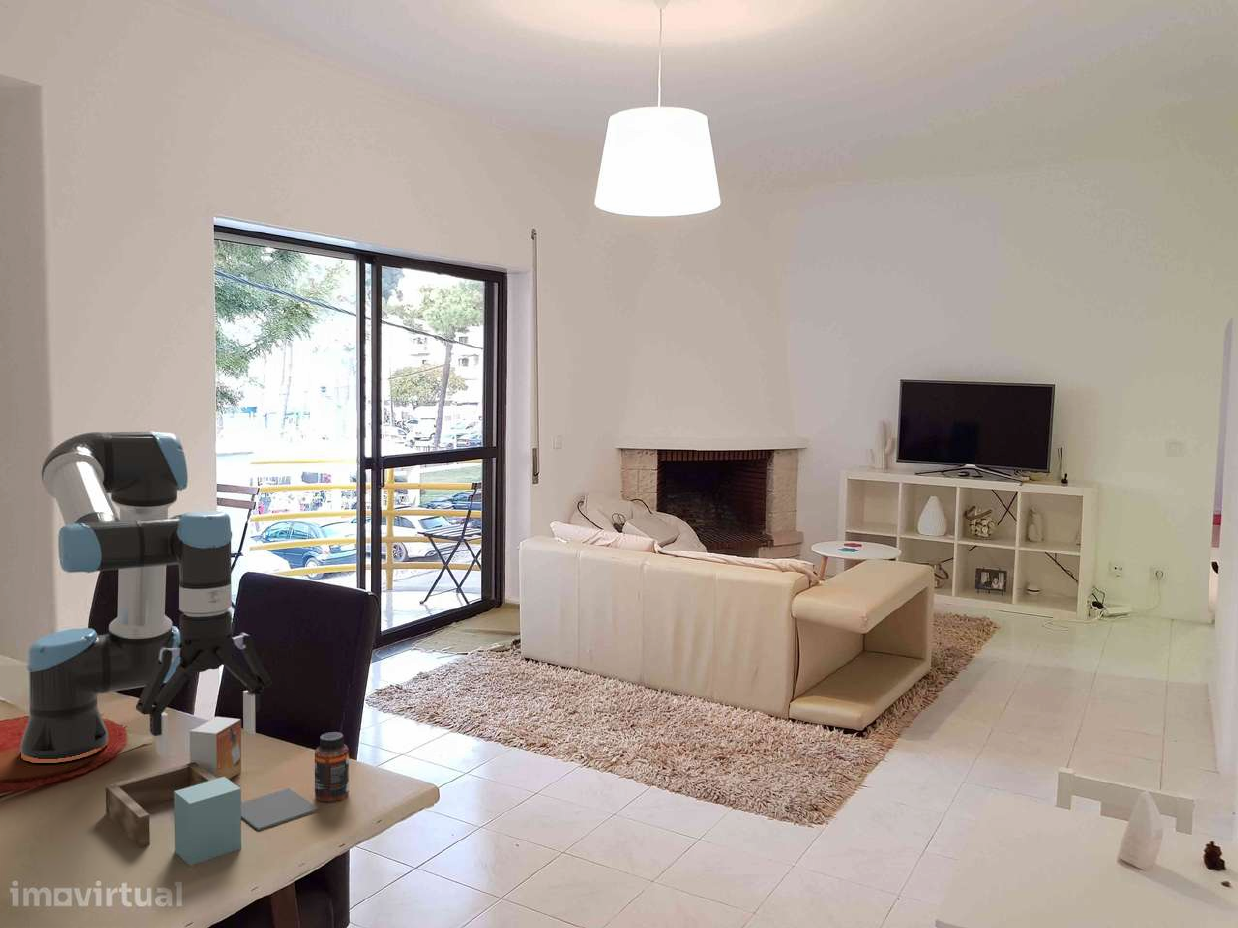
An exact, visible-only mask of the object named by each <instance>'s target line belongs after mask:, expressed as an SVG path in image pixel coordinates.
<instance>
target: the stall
mask: <svg viewBox="0 0 1238 928" xmlns="http://www.w3.org/2000/svg"><path fill="white" fill-rule="evenodd" d="M215 779H218V778H216V777H215V776H213V775H212V774H211V773H209V772H208V771H207V770H205V769H204V768H203V767H201V766H200V765H198V764H197V763H196V762H193V763H190V762H189V763H187V764H182V765H179V766H175V767H172V768H167V769H164V770H163V769H162V770H159V771H156V772H153V773H149V774H144V775H141V776H138V777H134V778H129V779H127V780H123V781H119V782H116V783H112V784H108V785H105V813H106V815H107V817H109V818H110V820H111V821H112V822H113V823H115V824H116V826H118V828H120V830H122V831H123V832H124V833H125V834H126V835H127V837H129V838H130V839H131V840H132V841H133V842H134V843H135V844H136V845H137V846H138V847H139V848H142V847H144V846H148V845H150V844H151V843H150V841H151V839H150V838H151V837H150V836H151V835H150V833H151V832H150V831H151V830H150V814H149V813H148V811H146V810H145V809H144V808H146V807H150V806H152V805H155V804H159V803H162V802H166V801H169V800H172V799H173V800H174V791H177V790H180V789H184V788H187V787H190V786H194V785H197V784H201V783H204V782H208V781H211V780H215Z"/></svg>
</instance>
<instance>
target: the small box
mask: <svg viewBox="0 0 1238 928" xmlns="http://www.w3.org/2000/svg"><path fill="white" fill-rule="evenodd" d="M193 762H196V763H197V764H198V765H200V766H201V767H203V768H204V769H205V770H207V771H208V772H209V773H211V774H212V775H213V776H215V777H216V778H222V777H226V778H227V779H228V780H230V779H232V778H234V777H235V776H238V775H239V774H241V772H242V720H241V719H240V718H233V717H225V716H223V717H222V716H214V717H213V718H211V719H210V720H208V721H206V722H204V723H202V724H201V725H199V726H197V727H195V728H194V729H190V731H189V763H193Z"/></svg>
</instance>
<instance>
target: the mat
mask: <svg viewBox="0 0 1238 928" xmlns="http://www.w3.org/2000/svg"><path fill="white" fill-rule="evenodd" d="M319 810H320V808H319V806H316V804H313V802H310V801H309V800H307V799H306V798H305V797H303V796H301V795H300V794H299V793H297V792H295V791H294V790H292V789H291V788H290V787H288V788H284V789H281V790H278V791H275V792H272V793H268V794H265V795H261V796H259V797H254V798H252V799H249V800H245V801H241V820H242V819H243V820H244V821H245V823H247V824H248V825H250V826H251V827H252V828H254V829H255V830H256V831H262V830H265V829H267V828H271V827H275V826H276V825H280V824H282V823H286V822H289V821H291V820H295V819H298V818H300V817H304V816H306V815H308V814H312V813H315V812H317V811H319ZM314 811H315V812H314Z"/></svg>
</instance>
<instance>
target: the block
mask: <svg viewBox="0 0 1238 928" xmlns="http://www.w3.org/2000/svg"><path fill="white" fill-rule="evenodd" d="M241 792H242V789H241V787H240V786H238V785H236V784H235V783H234V782H233V781H231V780H230V779H229V780H228V779H227V778H226V777H222V778H218V779H215V780H211V781H208V782H204V783H201V784H197V785H194V786H190V787H187V788H184V789H180V790H177V791H174V798H173V800H174V802H173V804H174V805H173V806H174V807H173V808H174V809H173V811H174V814H173V815H174V852H175V853H176V854H177V855H178V856H179V855H180V856H181V857H182V858H183V859H182V858H181V857H180V856H179V857H180V858H181V859H182V860H184V861H185V862H186V863H187V864H188V865H189V866H190V867H191V866H194V865H197V864H201V863H202V862H205V861H208V860H211V859H215V858H218V857H220V856H222V855H226V854H229V853H232V852H235V851H238V850H241V849H242V818H241V803H242V799H241V798H242V793H241Z"/></svg>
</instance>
